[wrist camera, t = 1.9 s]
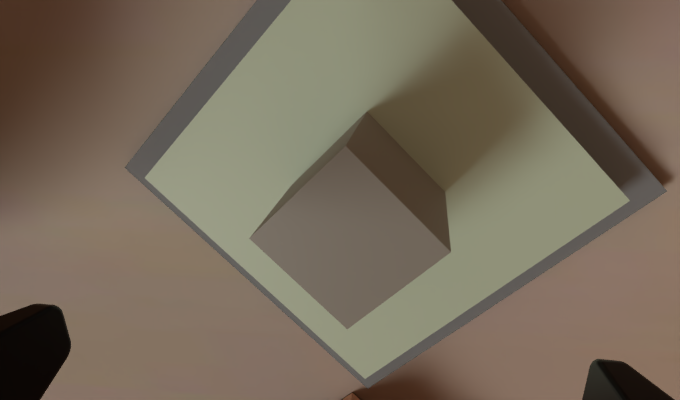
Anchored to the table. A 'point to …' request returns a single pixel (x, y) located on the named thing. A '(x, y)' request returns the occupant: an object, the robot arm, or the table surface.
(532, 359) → the table surface
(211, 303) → the table surface
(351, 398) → the dish
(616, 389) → the robot arm
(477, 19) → the mat
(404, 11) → the lid
